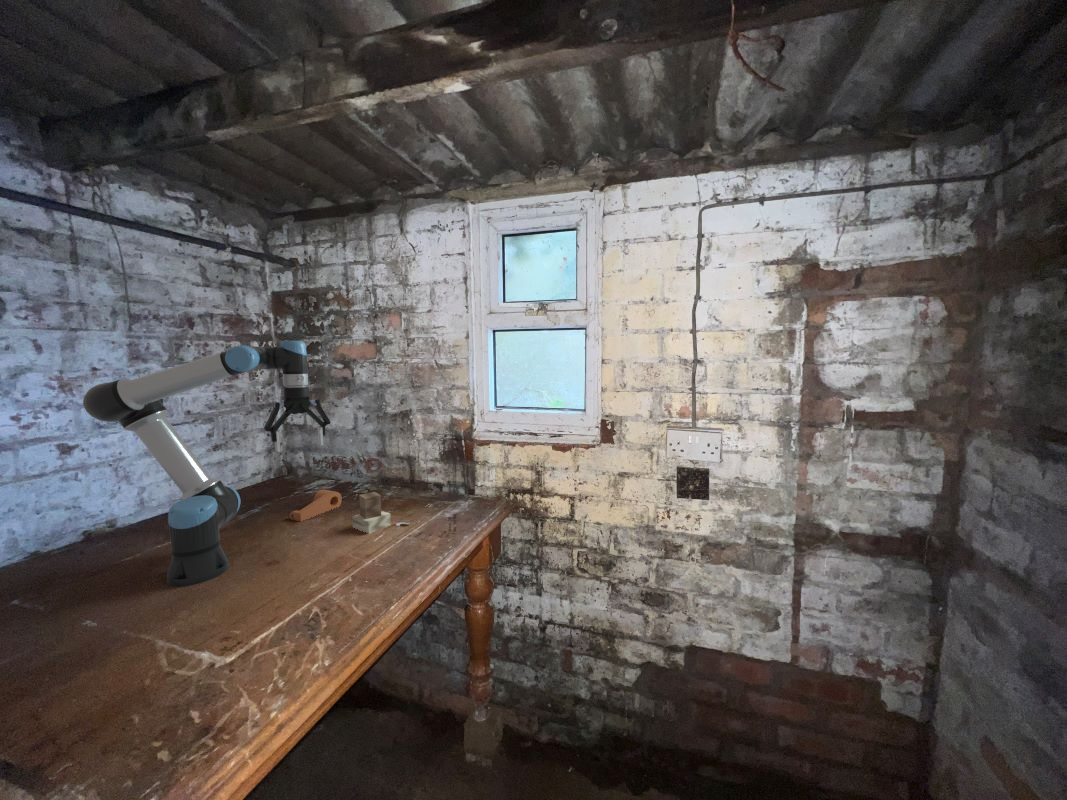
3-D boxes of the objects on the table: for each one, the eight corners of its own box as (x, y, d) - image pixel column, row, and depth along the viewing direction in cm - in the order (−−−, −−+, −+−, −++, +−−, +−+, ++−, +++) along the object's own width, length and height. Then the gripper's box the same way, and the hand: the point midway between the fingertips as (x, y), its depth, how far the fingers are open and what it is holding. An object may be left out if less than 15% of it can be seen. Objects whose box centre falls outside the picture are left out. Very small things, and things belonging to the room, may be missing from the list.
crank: (329, 504, 193) (328, 487, 192) (342, 507, 190) (341, 489, 189) (287, 520, 175) (286, 501, 174) (301, 523, 172) (299, 504, 171)
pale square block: (369, 534, 160) (368, 521, 160) (352, 528, 166) (352, 516, 165) (391, 525, 169) (390, 513, 168) (374, 520, 174) (374, 508, 174)
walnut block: (365, 519, 162) (364, 498, 162) (360, 514, 167) (359, 494, 166) (381, 515, 166) (380, 495, 165) (375, 511, 171) (374, 491, 170)
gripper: (256, 389, 134) (261, 455, 137) (338, 385, 152) (341, 443, 154) (250, 388, 140) (255, 452, 142) (330, 384, 157) (333, 441, 159)
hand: (300, 447), depth 148 cm, fingers open, 13 cm apart
